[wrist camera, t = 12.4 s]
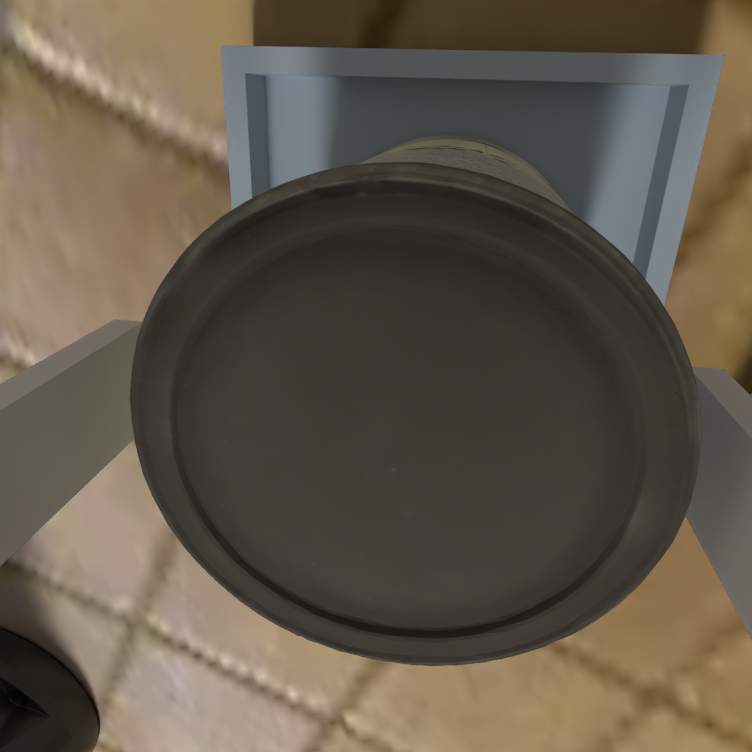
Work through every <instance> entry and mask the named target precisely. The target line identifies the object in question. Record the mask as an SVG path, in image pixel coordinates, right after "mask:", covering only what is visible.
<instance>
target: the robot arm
mask: <svg viewBox="0 0 752 752" xmlns="http://www.w3.org/2000/svg"><path fill="white" fill-rule="evenodd" d="M142 323H143V322H139V321H127V320H113V321H111V322H109V323H108V324H106V325H104V326H102V327H101V328H99V329H97V330H95V331H93V332H92V333H90V334H88V335H86V336H85V337H83V338H81V339H79V340H78V341H76V342H74V343H72V344H70V345H69V346H67V347H65V348H63V349H62V350H60V351H58V352H56V353H55V354H53V355H51V356H49V357H47V358H46V359H44V360H42V361H40V362H39V363H37V364H35V365H33V366H32V367H30V368H28V369H26V370H24V371H23V372H21V373H19V374H17V375H16V376H14V377H12V378H10V379H9V380H7V381H5V382H3V383H2V384H0V566H1V565H2V564H3V563H4V562H5V561H6V560H7V559H9V558H10V557H11V556H12V555H13V554H14V553H15V552H16V551H17V550H18V549H19V548H20V547H21V546H22V545H23V544H24V543H25V542H26V541H27V540H28V539H30V538H31V537H32V536H33V535H34V534H35V533H36V532H37V531H38V530H39V529H40V528H41V527H42V526H43V525H44V524H45V523H46V522H47V521H48V520H49V519H51V518H52V517H53V516H54V515H55V514H56V513H57V512H58V511H59V510H60V509H61V508H62V507H63V506H64V505H65V504H66V503H67V502H68V501H69V500H70V499H72V498H73V497H74V496H75V495H76V494H77V493H78V492H79V491H80V490H81V489H82V488H83V487H84V486H85V485H86V484H87V483H88V482H89V481H90V480H91V479H93V478H94V477H95V476H96V475H97V474H98V473H99V472H100V471H101V470H102V469H103V468H104V467H105V466H106V465H107V464H108V463H109V462H110V461H111V460H112V459H113V458H115V457H116V456H117V455H118V454H119V453H120V452H121V451H122V450H123V449H124V448H125V447H126V446H127V445H128V444H129V443H130V442H131V441H132V440H133V439H134V432H133V427H132V421H131V406H130V387H131V374H132V365H133V359H134V353H135V347H136V342H137V337H138V334H139V331H140V329H141V326H142ZM692 370H693V373H694V376H695V380H696V384H697V390H698V396H699V403H700V409H701V426H702V442H701V454H700V460H699V467H698V473H697V479H696V484H695V487H694V490H693V495H692V499H691V502H690V505H689V507H688V510H687V512H686V515H685V516H686V518H687V520H688V521H689V523H690V525H691V527H692V529H693V531H694V533H695V534H696V536H697V538H698V540H699V542H700V544H701V546H702V547H703V549H704V551H705V553H706V555H707V557H708V559H709V560H710V562H711V564H712V566H713V568H714V570H715V572H716V573H717V575H718V577H719V579H720V581H721V583H722V585H723V586H724V588H725V590H726V592H727V594H728V596H729V598H730V599H731V601H732V603H733V605H734V607H735V609H736V611H737V612H738V614H739V616H740V618H741V620H742V622H743V624H744V625H745V627H746V629H747V631H748V633H749V635H750V637H751V638H752V396H751V395H750V394H749V393H748V392H747V391H746V390H745V389H744V388H743V387H742V386H741V385H740V384H739V383H737V382H736V381H735V380H734V379H733V378H732V377H731V376H730V375H729V374H728V373H727V372H726V371H725V370H724V369H716V368H703V367H692ZM98 734H99V727H98V720H97V716H96V713H95V710H94V708H93V706H92V703H91V701H90V700H89V698H88V696H87V695H86V693H85V692H84V690H83V689H82V687H81V686H80V685H79V683H78V682H77V681H76V680H75V679H74V678H73V677H72V675H71V674H70V673H69V672H68V671H67V670H66V669H65V668H63V667H62V666H61V665H60V664H59V663H58V662H57V661H55V660H54V659H53V658H52V657H50V656H49V655H48V654H46V653H45V652H44V651H42V650H41V649H39V648H37V647H36V646H34V645H33V644H31V643H29V642H28V641H26V640H24V639H22V638H20V637H18V636H16V635H14V634H12V633H9V632H7V631H4V630H2V629H0V752H92V751H93V750H94V748H95V746H96V743H97V740H98Z"/></svg>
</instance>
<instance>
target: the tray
mask: <svg viewBox="0 0 752 752" xmlns="http://www.w3.org/2000/svg"><path fill="white" fill-rule="evenodd" d="M220 47H221V61H222V75H223V89H224V104H225V118H226V132H227V146H228V161H229V175H230V189H231V203H232V210H233V209H235V208H236V207H238V206H239V205H241V204H242V203H244V202H246V201H248V200H250V199H252V198H253V197H255V196H257V195H260V194H262V193H264V192H266V191H268V190H270V189H272V188H274V187H276V186H279V185H281V184H283V183H286V182H289V181H291V180H294V179H297V178H300V177H303V176H307V175H310V174H313V173H316V172H320V171H324V170H328V169H333V168H337V167H342V166H348V165H356V164H359V163H361V162H364V161H365V160H367V159H370V158H372V157H375V156H377V155H378V154H380V153H382V152H384V151H385V150H387V149H389V148H391V147H393V146H396V145H398V144H401V143H403V142H407V141H410V140H413V139H416V138H423V137H428V136H435V135H462V136H470V137H476V138H479V139H483V140H486V141H489V142H492V143H495V144H497V145H499V146H501V147H504V148H506V149H508V150H510V151H512V152H513V153H515V154H517V155H518V156H520V157H521V158H523V159H524V160H525V161H527V162H528V163H529V164H531V165H532V166H533V167H534V168H535V169H536V170H538V171H539V172H540V173H541V174H542V176H543V177H544V178H545V179H546V180H547V181H548V182H549V183H550V185H551V186H552V187H553V188H554V190H555V191H556V193H557V194H558V196H559V197H560V198H561V199H562V200H563V202H564V203H565V204H566V205H567V206H568V207H569V208H570V209H571V210H572V212H573V213H574V214H575V215H576V216H577V217H579V218H580V219H581V220H583V221H584V222H585V223H587V224H588V225H590V226H591V227H592V228H594V229H595V230H596V231H597V232H599V233H600V234H601V235H602V236H603V237H605V238H606V239H607V240H608V241H609V242H610V243H612V244H613V245H614V246H615V247H616V248H618V249H619V250H620V251H621V252H622V253H623V254H624V255H625V256H626V257H627V258H628V259H629V260H630V262H631V263H632V264H633V265H634V266H635V267H636V268H637V270H638V271H639V272H640V273H641V275H642V276H643V277H644V279H645V280H646V281H647V282H648V284H649V285H650V286H651V288H652V289H653V291H654V292H655V293H656V295H657V296H658V298H659V299H660V301H661V303H662V304H663V306H664V304H665V300H666V296H667V292H668V288H669V284H670V279H671V275H672V271H673V267H674V263H675V259H676V255H677V251H678V247H679V242H680V238H681V234H682V230H683V226H684V222H685V218H686V214H687V210H688V205H689V201H690V197H691V193H692V189H693V185H694V181H695V177H696V173H697V168H698V164H699V160H700V156H701V152H702V148H703V144H704V140H705V135H706V131H707V127H708V123H709V119H710V115H711V111H712V107H713V103H714V98H715V94H716V90H717V86H718V82H719V78H720V74H721V70H722V66H723V61H724V57H725V55H702V54H648V53H595V52H542V51H489V50H435V49H382V48H329V47H276V46H222V45H220Z"/></svg>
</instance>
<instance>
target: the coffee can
mask: <svg viewBox="0 0 752 752" xmlns="http://www.w3.org/2000/svg"><path fill="white" fill-rule="evenodd" d="M130 406H131V421H132V427H133V432H134V438H135V444H136V448H137V452H138V456H139V460H140V464H141V468H142V471H143V475H144V477H145V480H146V482H147V484H148V487H149V489H150V491H151V494H152V496H153V498H154V500H155V502H156V504H157V505H158V507H159V509H160V511H161V513H162V515H163V516H164V518H165V520H166V522H167V524H168V525H169V527H170V528H171V529H172V531H173V532H174V534H175V535H176V536H177V538H178V539H179V541H180V542H181V543H182V545H183V546H184V547H185V549H186V550H187V551H188V552H189V553H190V554H191V555H192V557H193V558H194V559H195V560H196V561H197V562H198V563H199V564H200V565H201V566H202V567H203V568H204V569H205V570H206V571H207V572H208V573H209V574H210V575H211V576H212V577H213V578H214V579H215V580H216V581H217V582H218V583H219V584H220V585H222V586H223V587H224V588H225V589H226V590H227V591H228V592H230V593H231V594H232V595H233V596H235V597H236V598H237V599H238V600H240V601H241V602H242V603H244V604H245V605H246V606H248V607H249V608H251V609H252V610H253V611H255V612H256V613H258V614H259V615H261V616H262V617H264V618H266V619H268V620H269V621H271V622H273V623H275V624H276V625H278V626H280V627H282V628H284V629H286V630H288V631H290V632H292V633H294V634H296V635H298V636H302V637H304V638H306V639H307V640H310V641H313V642H316V643H319V644H322V645H325V646H327V647H330V648H333V649H335V650H338V651H342V652H346V653H350V654H354V655H358V656H362V657H367V658H371V659H376V660H382V661H388V662H395V663H402V664H410V665H425V666H443V665H463V664H472V663H481V662H487V661H492V660H498V659H503V658H507V657H511V656H515V655H519V654H522V653H525V652H529V651H532V650H535V649H538V648H542V647H545V646H547V645H549V644H550V643H552V642H554V641H557V640H560V639H563V638H565V637H567V636H570V635H572V634H574V633H576V632H577V631H579V630H581V629H583V628H585V627H587V626H588V625H590V624H591V623H593V622H594V621H596V620H597V619H599V618H600V617H602V616H603V615H605V614H606V613H607V612H609V611H610V610H612V609H613V608H614V607H616V606H617V605H619V604H620V603H621V602H622V601H623V600H624V599H625V598H626V597H627V596H628V595H630V594H631V593H632V592H633V591H634V590H635V589H636V588H637V587H638V586H639V585H640V584H641V583H642V581H643V580H644V579H645V578H646V577H647V575H648V574H649V573H650V572H651V570H652V569H653V568H654V566H655V565H656V564H657V563H658V562H659V560H660V559H661V558H662V557H663V555H664V554H665V552H666V551H667V549H668V548H669V547H670V545H671V544H672V543H673V541H674V539H675V537H676V534H677V532H678V530H679V528H680V526H681V524H682V522H683V519H684V517H685V515H686V512H687V510H688V507H689V505H690V502H691V499H692V495H693V490H694V487H695V484H696V479H697V473H698V467H699V460H700V454H701V442H702V426H701V409H700V403H699V396H698V390H697V384H696V380H695V376H694V373H693V370H692V366H691V363H690V361H689V358H688V355H687V352H686V350H685V347H684V344H683V342H682V340H681V338H680V335H679V333H678V331H677V328H676V326H675V324H674V322H673V321H672V319H671V317H670V316H669V314H668V312H667V311H666V309H665V307H664V306H663V304H662V303H661V301H660V299H659V298H658V296H657V295H656V293H655V292H654V291H653V289H652V288H651V286H650V285H649V284H648V282H647V281H646V280H645V279H644V277H643V276H642V275H641V273H640V272H639V271H638V270H637V268H636V267H635V266H634V265H633V264H632V263H631V262H630V260H629V259H628V258H627V257H626V256H625V255H624V254H623V253H622V252H621V251H620V250H619V249H618V248H616V247H615V246H614V245H613V244H612V243H610V242H609V241H608V240H607V239H606V238H605V237H603V236H602V235H601V234H600V233H599V232H597V231H596V230H595V229H594V228H592V227H591V226H590V225H588V224H587V223H585V222H584V221H583V220H581V219H580V218H579V217H577V216H576V215H575V214H574V213H573V212H572V210H571V209H570V208H569V207H568V206H567V205H566V204H565V203H564V202H563V200H562V199H561V198H560V197H559V196H558V194H557V193H556V191H555V190H554V188H553V187H552V186H551V185H550V183H549V182H548V181H547V180H546V179H545V178H544V177H543V176H542V174H541V173H540V172H539V171H538V170H536V169H535V168H534V167H533V166H532V165H531V164H529V163H528V162H527V161H525V160H524V159H523V158H521V157H520V156H518V155H517V154H515V153H513V152H512V151H510V150H508V149H506V148H504V147H501V146H499V145H497V144H495V143H492V142H489V141H486V140H483V139H479V138H476V137H470V136H462V135H435V136H428V137H423V138H416V139H413V140H410V141H407V142H403V143H401V144H398V145H396V146H393V147H391V148H389V149H387V150H385V151H384V152H382V153H380V154H378V155H377V156H375V157H372V158H370V159H367V160H365V161H364V162H361V163H359V164H356V165H348V166H342V167H337V168H333V169H328V170H324V171H320V172H316V173H313V174H310V175H307V176H303V177H300V178H297V179H294V180H291V181H289V182H286V183H283V184H281V185H279V186H276V187H274V188H272V189H270V190H268V191H266V192H264V193H262V194H260V195H257V196H255V197H253V198H252V199H250V200H248V201H246V202H244V203H242V204H241V205H239V206H238V207H236V208H235V209H233V210H232V211H230V212H228V213H227V214H225V215H224V216H222V217H221V218H220V219H219V220H217V221H216V222H215V223H214V224H213V225H211V226H210V227H209V228H208V229H206V230H205V231H204V232H203V233H202V234H201V235H200V236H199V237H198V238H197V239H196V240H195V241H194V242H193V243H192V244H191V245H190V246H189V247H188V248H187V249H186V250H185V251H184V252H183V254H182V255H181V256H180V258H179V259H178V260H177V262H176V263H175V264H174V266H173V267H172V269H171V270H170V271H169V273H168V274H167V275H166V277H165V278H164V280H163V281H162V283H161V284H160V286H159V288H158V290H157V292H156V293H155V295H154V297H153V299H152V301H151V304H150V306H149V308H148V310H147V312H146V315H145V318H144V320H143V323H142V326H141V329H140V331H139V334H138V337H137V342H136V347H135V353H134V359H133V365H132V374H131V387H130Z"/></svg>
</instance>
